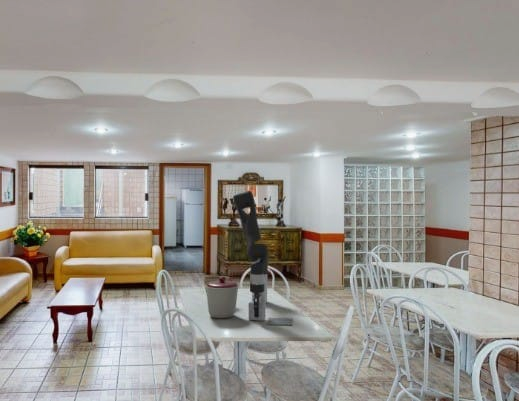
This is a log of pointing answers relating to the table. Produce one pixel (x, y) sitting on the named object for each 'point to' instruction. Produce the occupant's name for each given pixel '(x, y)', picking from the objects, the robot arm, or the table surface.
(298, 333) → the table surface
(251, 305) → the medicine box
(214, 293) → the canister
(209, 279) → the plant pot
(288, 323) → the rubber mat
